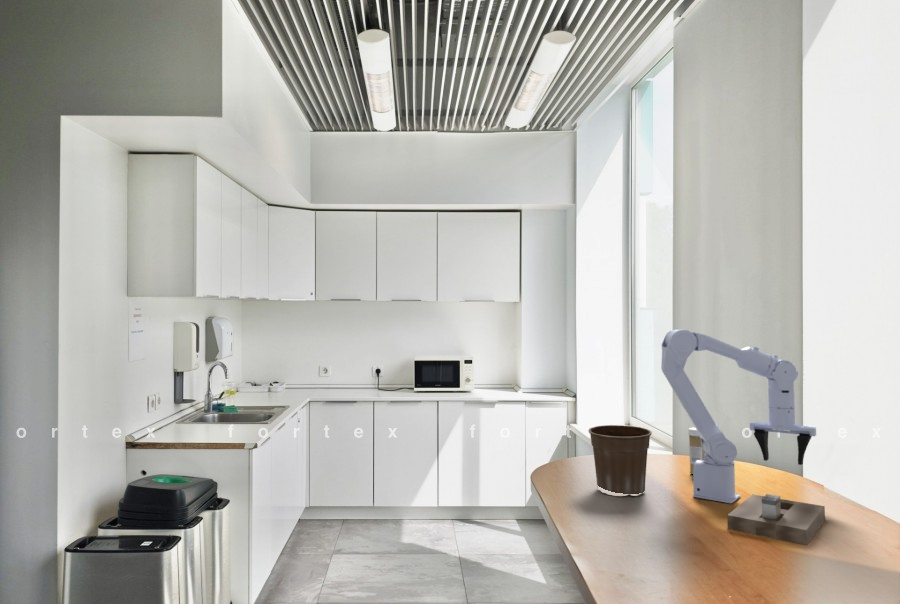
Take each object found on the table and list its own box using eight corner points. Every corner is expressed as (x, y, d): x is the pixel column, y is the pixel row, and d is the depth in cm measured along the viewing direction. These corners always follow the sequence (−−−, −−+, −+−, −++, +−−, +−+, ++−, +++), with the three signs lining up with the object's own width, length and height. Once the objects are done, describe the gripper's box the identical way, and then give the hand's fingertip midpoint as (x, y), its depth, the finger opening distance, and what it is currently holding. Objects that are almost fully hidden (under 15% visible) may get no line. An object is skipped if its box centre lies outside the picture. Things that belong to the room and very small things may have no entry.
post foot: (727, 529, 131) (727, 515, 131) (752, 506, 146) (752, 494, 146) (806, 545, 121) (806, 530, 121) (825, 519, 137) (824, 506, 137)
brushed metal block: (762, 531, 129) (761, 498, 130) (767, 526, 133) (766, 494, 133) (776, 534, 128) (775, 500, 128) (781, 528, 131) (780, 496, 131)
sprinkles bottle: (709, 475, 176) (708, 428, 177) (700, 477, 174) (699, 430, 174) (695, 472, 180) (694, 426, 181) (686, 474, 178) (685, 428, 178)
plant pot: (643, 504, 150) (642, 438, 150) (580, 494, 158) (579, 432, 159) (659, 488, 163) (658, 428, 164) (600, 480, 172) (599, 423, 172)
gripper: (746, 406, 154) (747, 460, 153) (812, 411, 145) (813, 469, 144) (752, 403, 159) (754, 455, 159) (816, 408, 150) (818, 463, 150)
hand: (783, 461), depth 152 cm, fingers open, 7 cm apart
